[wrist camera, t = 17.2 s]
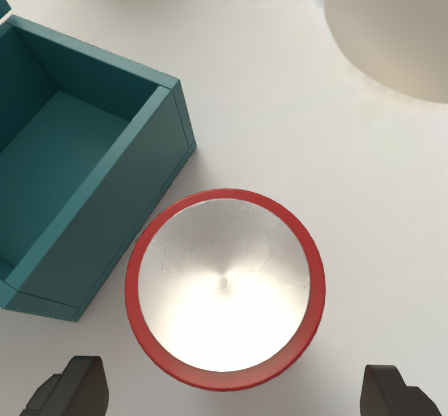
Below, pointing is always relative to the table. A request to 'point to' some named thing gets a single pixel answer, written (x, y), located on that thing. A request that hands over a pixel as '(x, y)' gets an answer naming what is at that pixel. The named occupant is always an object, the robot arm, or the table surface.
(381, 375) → the robot arm
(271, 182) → the table surface
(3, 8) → the cool box lid
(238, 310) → the can
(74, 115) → the cool box
